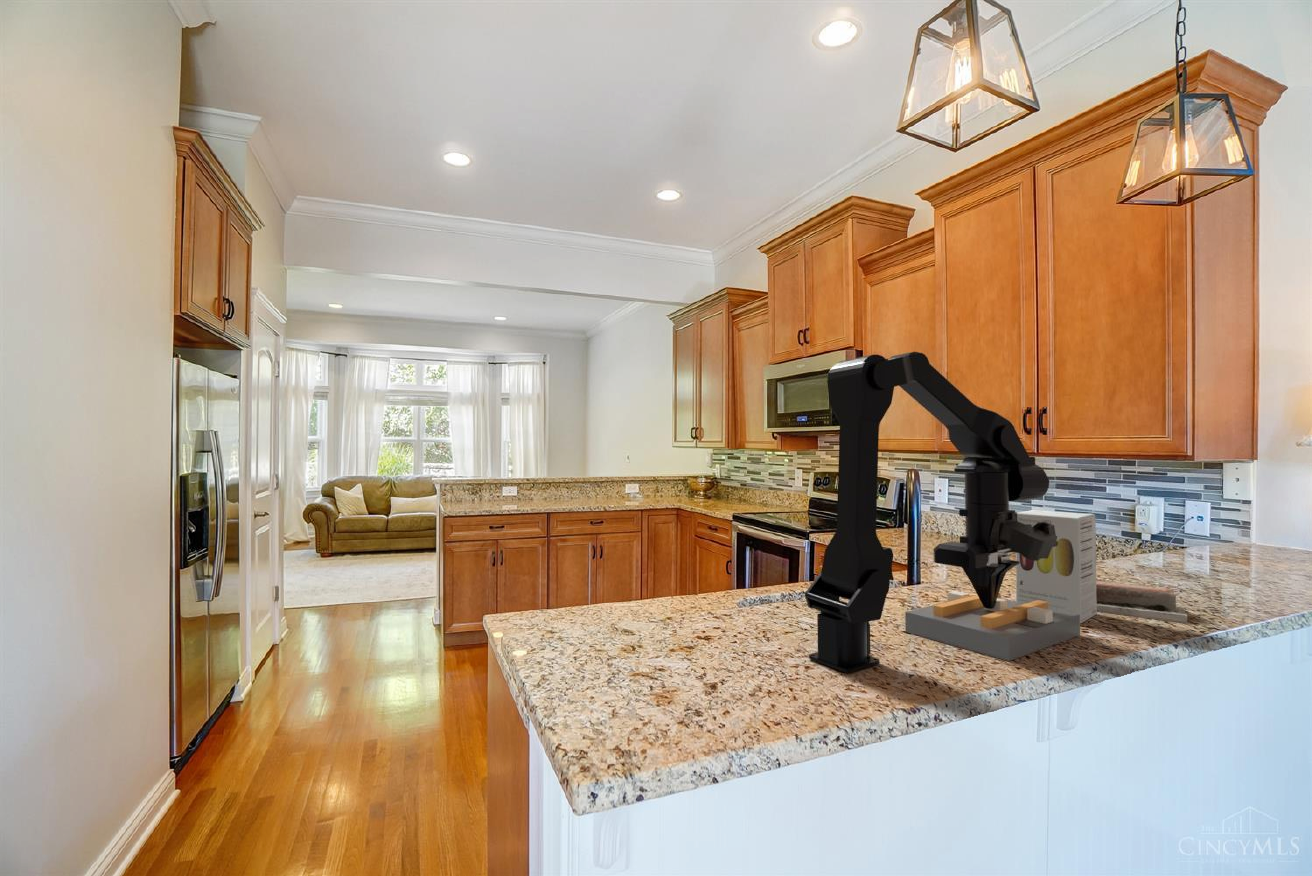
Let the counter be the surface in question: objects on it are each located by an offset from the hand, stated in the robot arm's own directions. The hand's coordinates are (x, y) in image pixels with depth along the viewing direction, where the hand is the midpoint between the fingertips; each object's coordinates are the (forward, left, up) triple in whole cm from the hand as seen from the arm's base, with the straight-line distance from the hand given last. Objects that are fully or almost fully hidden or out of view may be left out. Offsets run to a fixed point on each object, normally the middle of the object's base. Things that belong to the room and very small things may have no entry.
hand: (988, 608), depth 88 cm
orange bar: (+1, -3, -1) cm, 4 cm away
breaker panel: (+1, 0, -4) cm, 4 cm away
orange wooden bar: (+1, +4, -1) cm, 4 cm away
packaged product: (+33, -4, -5) cm, 34 cm away
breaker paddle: (+2, 0, -1) cm, 2 cm away
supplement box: (+21, 0, -4) cm, 21 cm away
